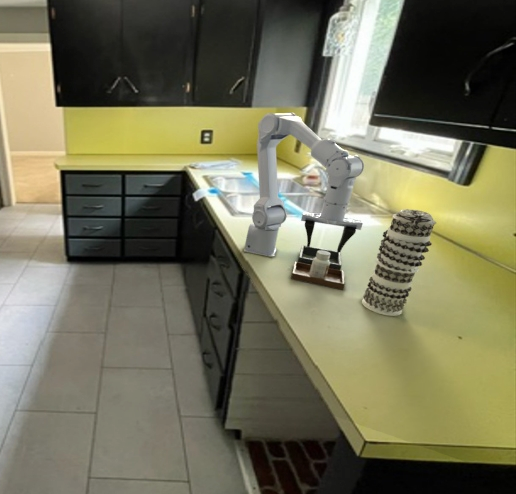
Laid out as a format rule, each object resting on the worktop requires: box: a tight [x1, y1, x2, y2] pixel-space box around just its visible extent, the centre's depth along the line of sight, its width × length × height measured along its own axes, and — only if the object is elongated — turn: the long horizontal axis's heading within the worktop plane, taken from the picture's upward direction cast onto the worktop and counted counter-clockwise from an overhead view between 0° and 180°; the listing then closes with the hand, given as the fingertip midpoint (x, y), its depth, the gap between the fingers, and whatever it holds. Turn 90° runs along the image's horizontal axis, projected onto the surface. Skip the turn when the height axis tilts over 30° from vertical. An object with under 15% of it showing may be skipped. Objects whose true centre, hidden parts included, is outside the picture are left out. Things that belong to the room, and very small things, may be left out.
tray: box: [290, 261, 346, 291], centre depth 106 cm, size 13×9×2 cm
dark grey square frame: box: [297, 244, 342, 270], centre depth 115 cm, size 11×11×3 cm
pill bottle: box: [309, 250, 331, 279], centre depth 104 cm, size 4×4×8 cm
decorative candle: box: [361, 208, 437, 317], centre depth 87 cm, size 9×9×25 cm
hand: (323, 248), depth 103 cm, fingers open, 7 cm apart
